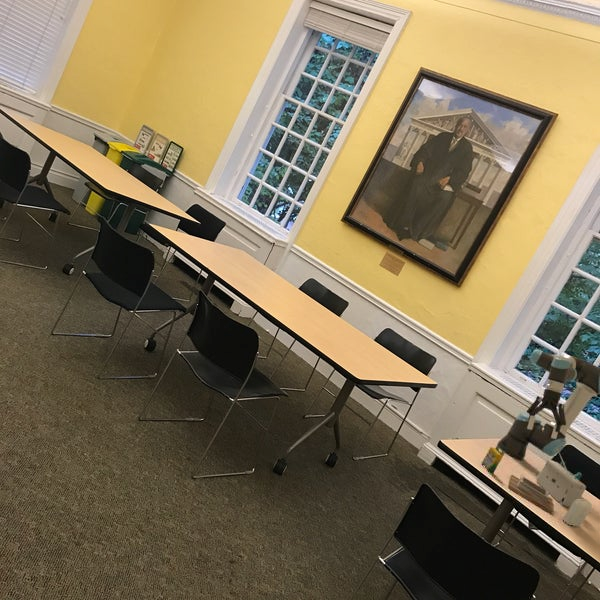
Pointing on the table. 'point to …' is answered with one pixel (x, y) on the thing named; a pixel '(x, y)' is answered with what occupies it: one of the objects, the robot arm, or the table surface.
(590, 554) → the table surface
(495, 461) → the crayon box
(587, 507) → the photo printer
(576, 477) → the teal l-shaped bracket
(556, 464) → the stereo radio cassette player
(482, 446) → the table surface
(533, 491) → the walnut crayon stand
